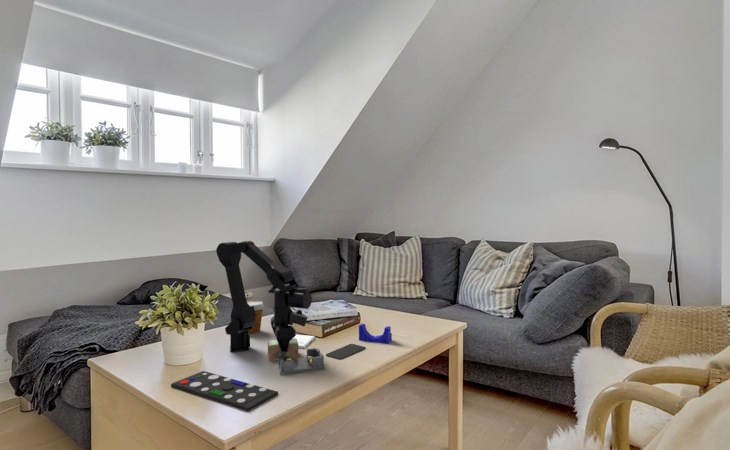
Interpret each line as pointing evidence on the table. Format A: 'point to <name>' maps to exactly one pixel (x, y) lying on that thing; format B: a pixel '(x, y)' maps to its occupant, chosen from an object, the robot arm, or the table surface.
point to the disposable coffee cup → (258, 311)
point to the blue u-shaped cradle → (366, 336)
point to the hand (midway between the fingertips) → (282, 350)
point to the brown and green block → (275, 349)
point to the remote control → (225, 390)
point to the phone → (345, 351)
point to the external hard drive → (303, 340)
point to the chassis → (300, 362)
